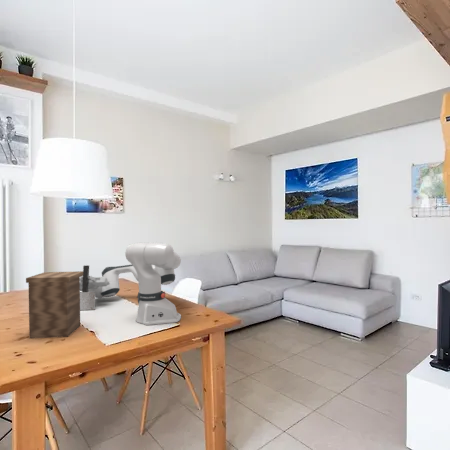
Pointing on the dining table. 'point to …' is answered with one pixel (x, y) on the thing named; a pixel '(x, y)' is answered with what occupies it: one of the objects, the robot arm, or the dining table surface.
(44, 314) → the stand
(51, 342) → the dining table surface
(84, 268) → the turner
